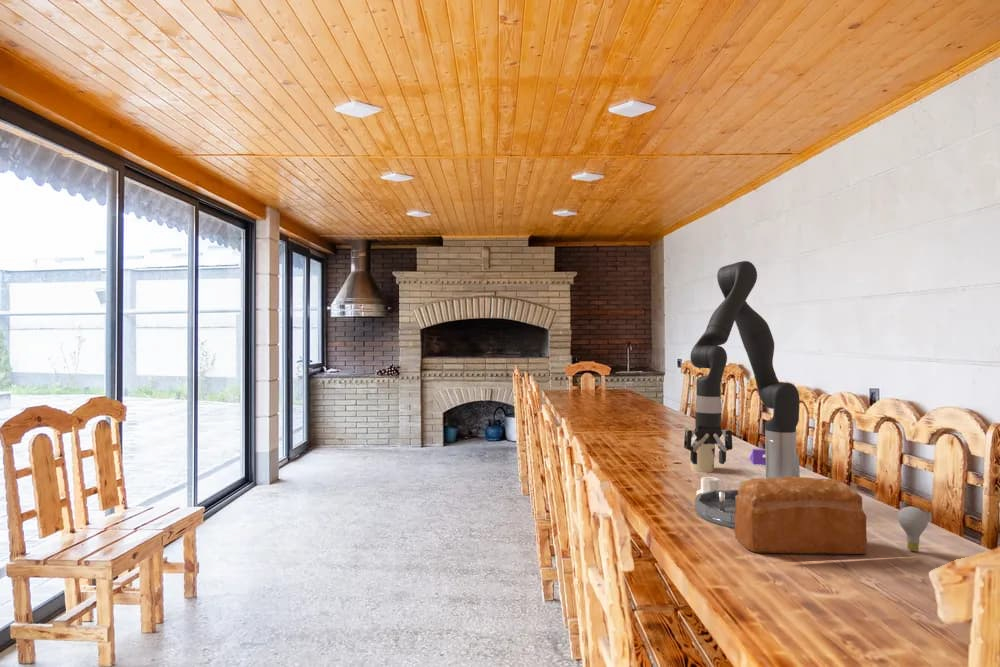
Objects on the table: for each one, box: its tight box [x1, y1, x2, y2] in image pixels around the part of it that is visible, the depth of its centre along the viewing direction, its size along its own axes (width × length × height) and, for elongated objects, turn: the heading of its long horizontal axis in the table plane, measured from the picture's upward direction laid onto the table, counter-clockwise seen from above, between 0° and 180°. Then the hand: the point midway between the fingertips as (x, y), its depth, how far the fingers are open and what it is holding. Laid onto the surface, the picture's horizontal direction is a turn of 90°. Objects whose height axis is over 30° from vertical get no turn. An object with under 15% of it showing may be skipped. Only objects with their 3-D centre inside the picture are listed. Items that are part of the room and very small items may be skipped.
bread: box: [734, 476, 868, 555], centre depth 134 cm, size 14×26×16 cm, turn 86°
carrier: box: [694, 480, 746, 530], centre depth 156 cm, size 27×27×7 cm
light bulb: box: [897, 506, 929, 553], centre depth 129 cm, size 5×5×10 cm
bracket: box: [749, 448, 766, 466], centre depth 219 cm, size 12×7×7 cm, turn 163°
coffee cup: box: [688, 436, 716, 474], centre depth 208 cm, size 9×9×12 cm
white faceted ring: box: [696, 476, 720, 496], centre depth 175 cm, size 7×7×6 cm
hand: (708, 463), depth 175 cm, fingers open, 8 cm apart
